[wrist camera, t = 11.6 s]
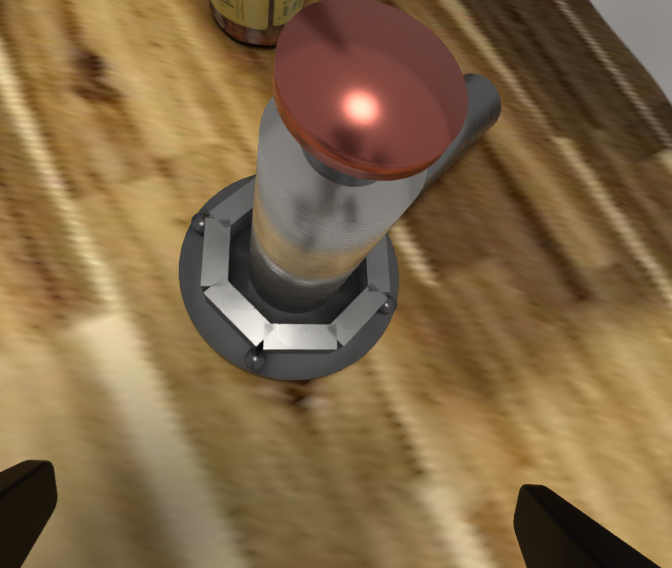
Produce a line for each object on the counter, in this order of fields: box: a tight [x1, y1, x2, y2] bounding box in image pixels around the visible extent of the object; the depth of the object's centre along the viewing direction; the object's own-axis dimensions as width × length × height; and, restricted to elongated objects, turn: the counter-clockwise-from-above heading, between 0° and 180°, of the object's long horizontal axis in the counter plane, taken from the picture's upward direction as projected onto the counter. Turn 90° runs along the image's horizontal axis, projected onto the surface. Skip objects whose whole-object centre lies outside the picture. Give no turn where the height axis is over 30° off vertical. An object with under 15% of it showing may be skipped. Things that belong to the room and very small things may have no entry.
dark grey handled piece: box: [179, 73, 501, 381], centre depth 22 cm, size 23×12×4 cm, turn 136°
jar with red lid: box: [248, 0, 468, 314], centre depth 15 cm, size 5×5×14 cm
